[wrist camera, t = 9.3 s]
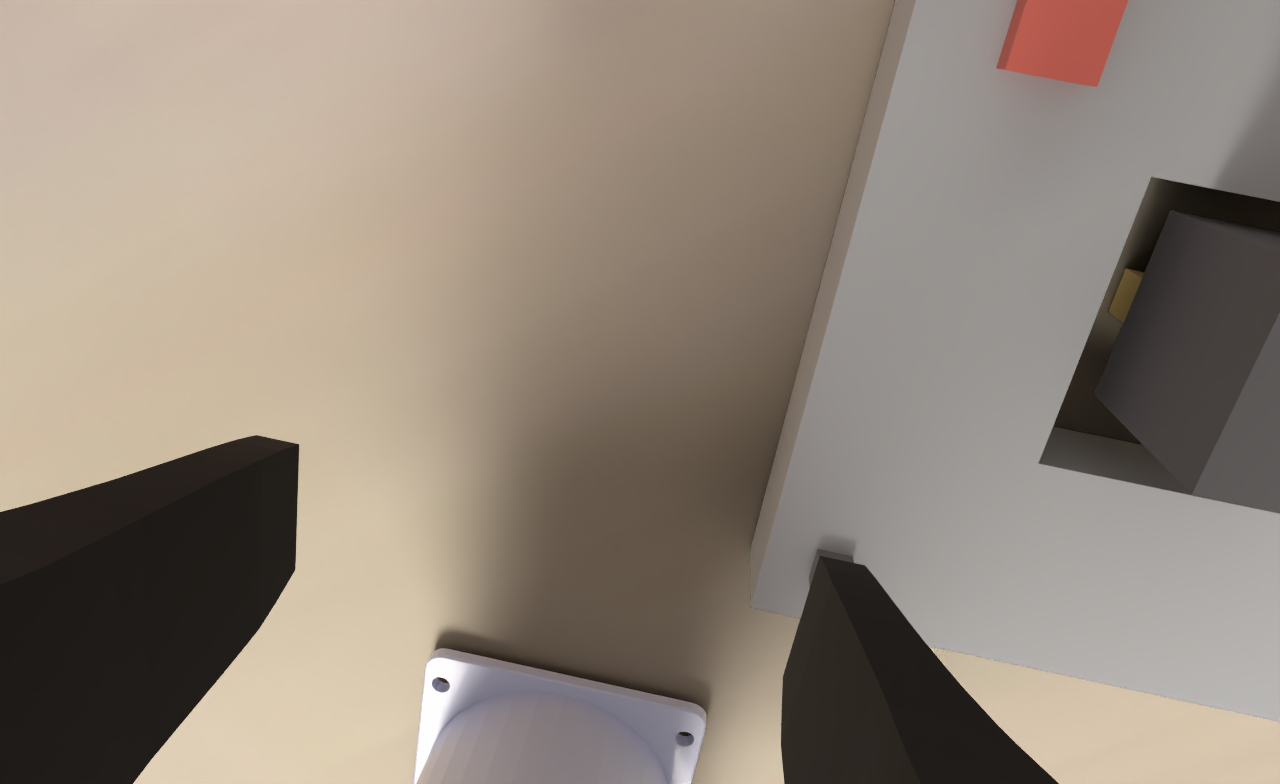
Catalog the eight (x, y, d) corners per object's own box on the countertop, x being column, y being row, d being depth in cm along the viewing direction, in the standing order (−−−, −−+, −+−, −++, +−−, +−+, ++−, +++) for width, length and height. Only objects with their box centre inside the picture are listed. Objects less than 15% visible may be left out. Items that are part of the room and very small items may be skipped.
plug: (1245, 407, 20) (1434, 546, 15) (1070, 370, 20) (1191, 494, 15) (1329, 235, 19) (1574, 318, 13) (1139, 197, 19) (1303, 263, 13)
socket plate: (1373, 684, 22) (1465, 778, 20) (749, 550, 23) (750, 623, 20) (1800, 1, 16) (2025, -7, 13) (936, -156, 17) (975, -197, 14)
